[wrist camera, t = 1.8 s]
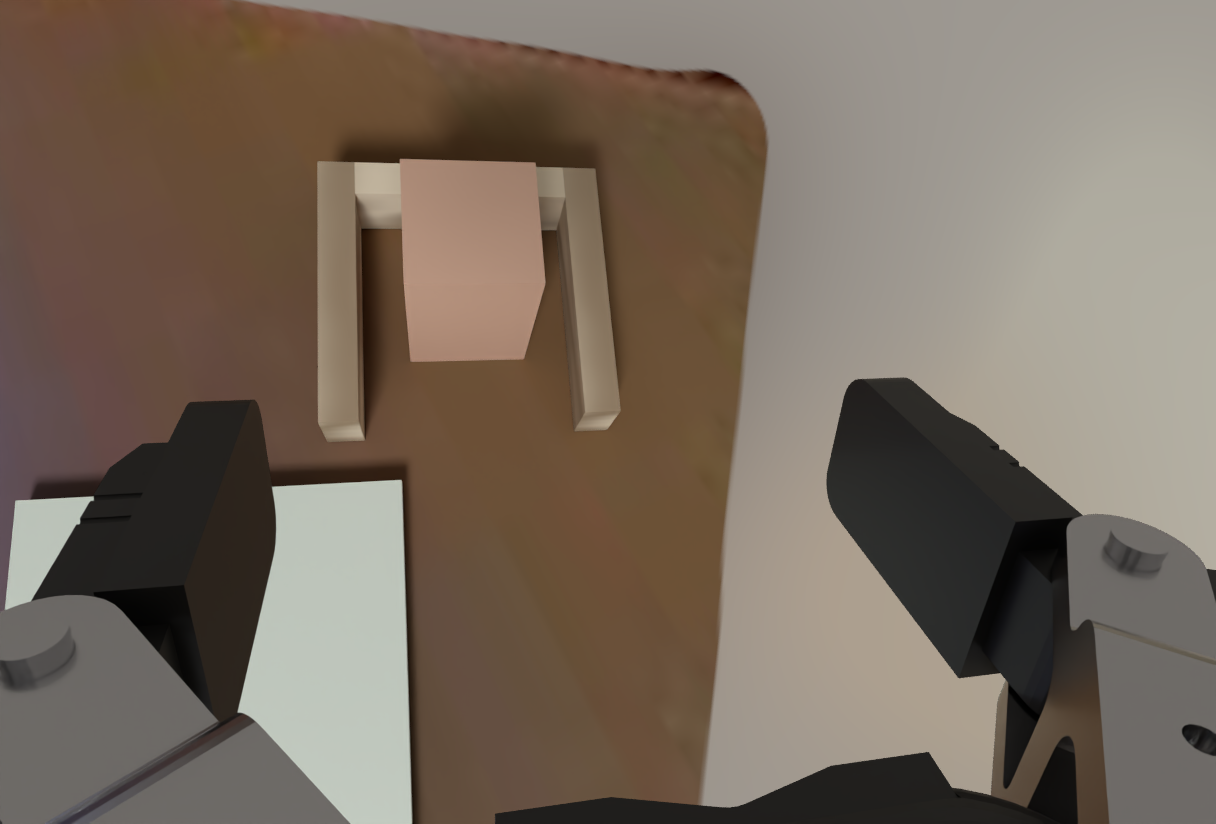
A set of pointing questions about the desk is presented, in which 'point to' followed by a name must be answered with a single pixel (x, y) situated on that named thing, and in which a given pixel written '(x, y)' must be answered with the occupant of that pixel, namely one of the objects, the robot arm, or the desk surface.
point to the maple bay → (375, 203)
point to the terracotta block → (470, 258)
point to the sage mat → (307, 636)
